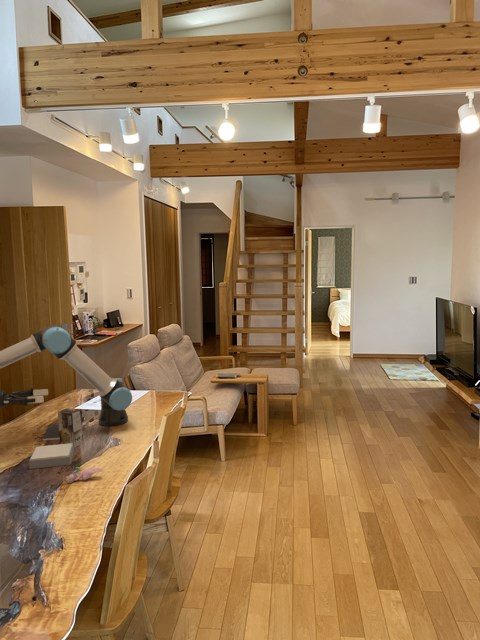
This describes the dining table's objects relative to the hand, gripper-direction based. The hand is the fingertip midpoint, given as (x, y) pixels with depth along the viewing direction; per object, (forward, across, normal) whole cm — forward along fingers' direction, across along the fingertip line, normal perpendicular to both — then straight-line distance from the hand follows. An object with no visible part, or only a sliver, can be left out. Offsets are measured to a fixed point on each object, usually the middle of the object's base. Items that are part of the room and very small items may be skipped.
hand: (46, 395), depth 233 cm
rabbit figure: (+19, +43, -24) cm, 53 cm away
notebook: (+2, -20, -25) cm, 32 cm away
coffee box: (+10, 0, -24) cm, 26 cm away
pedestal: (+4, +18, -24) cm, 30 cm away
